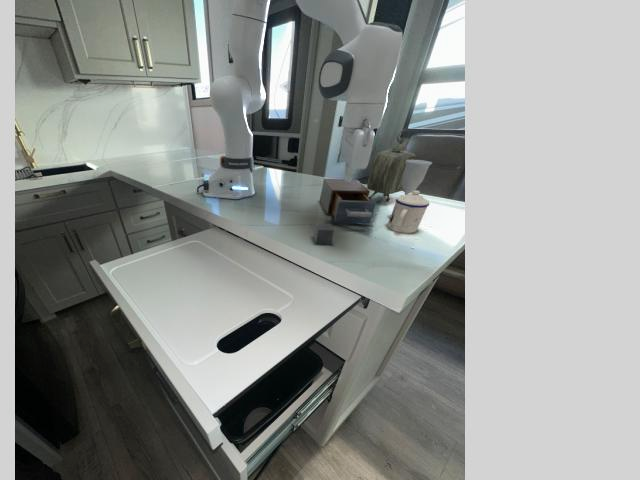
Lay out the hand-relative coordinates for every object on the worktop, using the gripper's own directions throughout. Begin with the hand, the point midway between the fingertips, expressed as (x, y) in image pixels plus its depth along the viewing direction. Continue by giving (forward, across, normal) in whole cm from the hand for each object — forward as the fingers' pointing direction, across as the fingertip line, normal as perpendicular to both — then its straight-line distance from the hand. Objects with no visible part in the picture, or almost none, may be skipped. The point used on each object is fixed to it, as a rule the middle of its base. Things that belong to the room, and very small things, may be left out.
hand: (347, 180), depth 72 cm
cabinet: (+16, +26, -5) cm, 31 cm away
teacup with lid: (+16, +9, -22) cm, 28 cm away
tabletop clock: (+16, +39, -24) cm, 49 cm away
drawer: (+15, +14, -6) cm, 22 cm away
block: (+16, -5, +4) cm, 17 cm away
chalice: (+16, +19, -24) cm, 34 cm away
